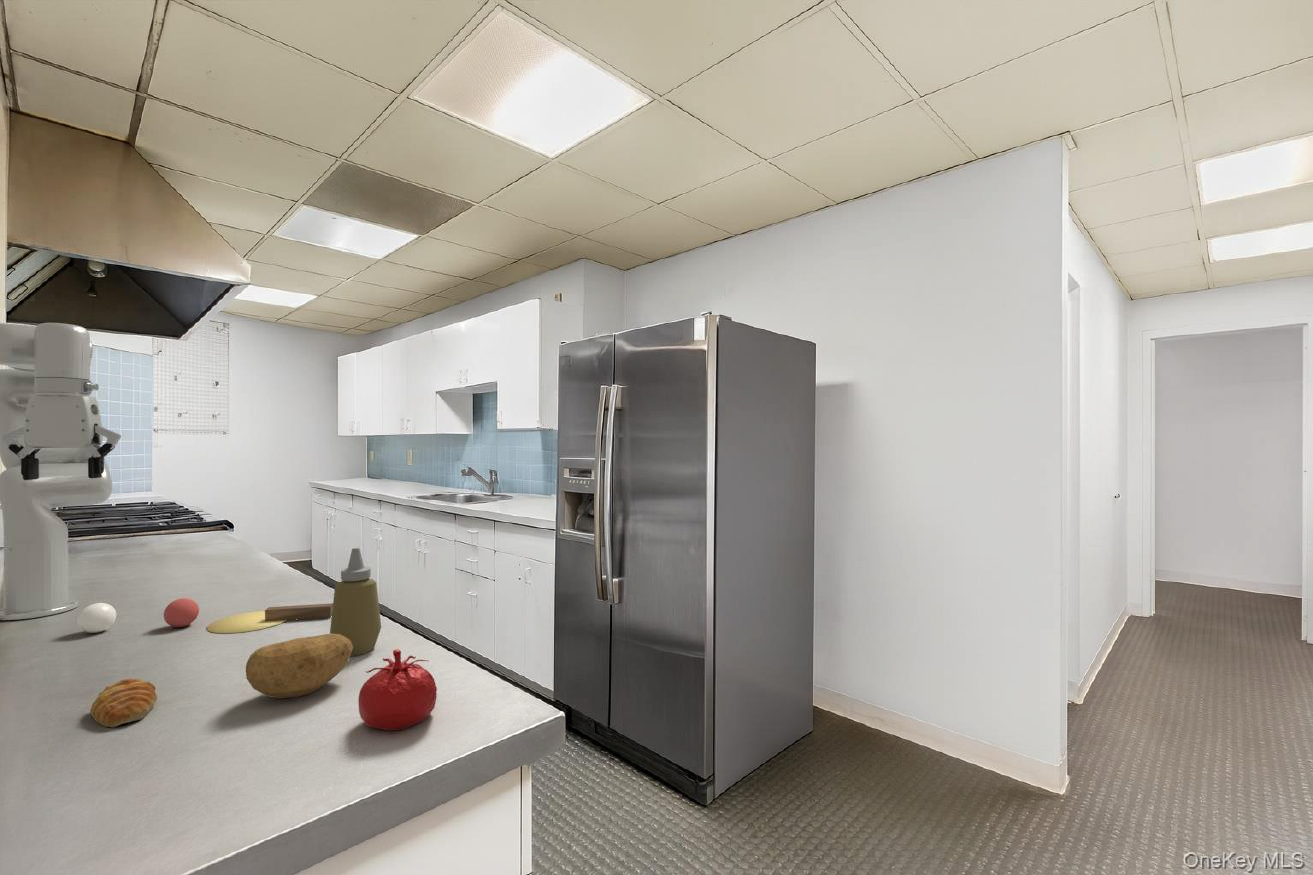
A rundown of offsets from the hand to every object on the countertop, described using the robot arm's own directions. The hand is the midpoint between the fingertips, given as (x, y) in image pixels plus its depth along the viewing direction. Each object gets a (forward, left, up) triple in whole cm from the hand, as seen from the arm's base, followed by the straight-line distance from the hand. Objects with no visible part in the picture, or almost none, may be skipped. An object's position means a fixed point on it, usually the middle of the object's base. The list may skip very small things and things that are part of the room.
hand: (63, 478), depth 113 cm
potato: (+65, +10, -30) cm, 72 cm away
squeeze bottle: (+56, +24, -30) cm, 68 cm away
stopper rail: (+29, +28, -30) cm, 50 cm away
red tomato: (+85, +12, -30) cm, 91 cm away
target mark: (+23, +22, -30) cm, 43 cm away
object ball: (+14, +14, -27) cm, 33 cm away
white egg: (+4, +4, -27) cm, 27 cm away
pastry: (+51, -6, -30) cm, 60 cm away
